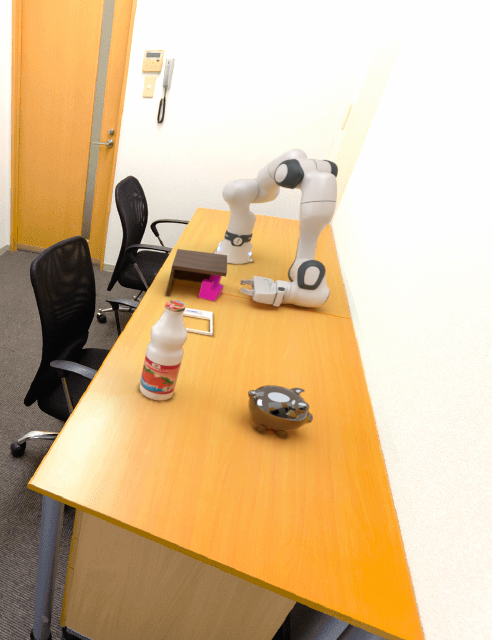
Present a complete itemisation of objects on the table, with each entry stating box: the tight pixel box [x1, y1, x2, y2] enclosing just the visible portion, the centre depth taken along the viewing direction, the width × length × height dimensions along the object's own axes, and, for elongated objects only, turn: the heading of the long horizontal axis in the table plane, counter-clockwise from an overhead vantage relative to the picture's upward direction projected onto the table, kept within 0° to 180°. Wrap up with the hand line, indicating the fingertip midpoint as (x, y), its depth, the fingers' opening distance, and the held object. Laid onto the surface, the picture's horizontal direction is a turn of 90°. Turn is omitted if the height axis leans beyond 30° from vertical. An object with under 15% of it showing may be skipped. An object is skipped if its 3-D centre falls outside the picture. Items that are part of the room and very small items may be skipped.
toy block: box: [198, 275, 224, 302], centre depth 179 cm, size 15×6×8 cm, turn 141°
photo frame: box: [183, 307, 214, 336], centre depth 159 cm, size 15×1×18 cm
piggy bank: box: [247, 384, 314, 437], centre depth 107 cm, size 11×15×12 cm
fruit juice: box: [139, 299, 188, 401], centre depth 116 cm, size 9×9×28 cm
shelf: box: [165, 248, 228, 297], centre depth 181 cm, size 23×20×14 cm
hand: (240, 285), depth 175 cm, fingers open, 8 cm apart
